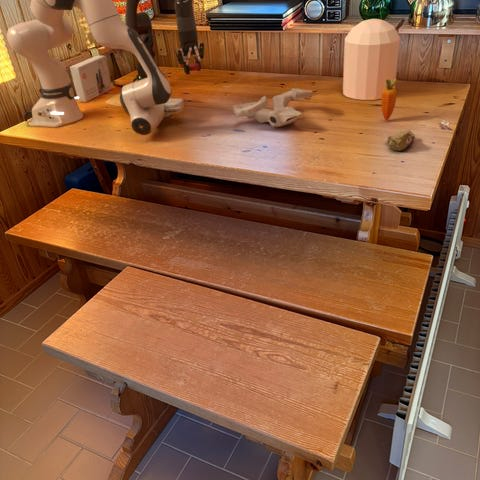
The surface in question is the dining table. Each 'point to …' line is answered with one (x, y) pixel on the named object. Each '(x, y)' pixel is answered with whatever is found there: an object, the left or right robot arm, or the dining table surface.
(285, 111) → the animal horns
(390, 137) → the rock
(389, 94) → the carrot
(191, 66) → the lid
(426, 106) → the dining table surface
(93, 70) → the skincare box
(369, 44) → the container
